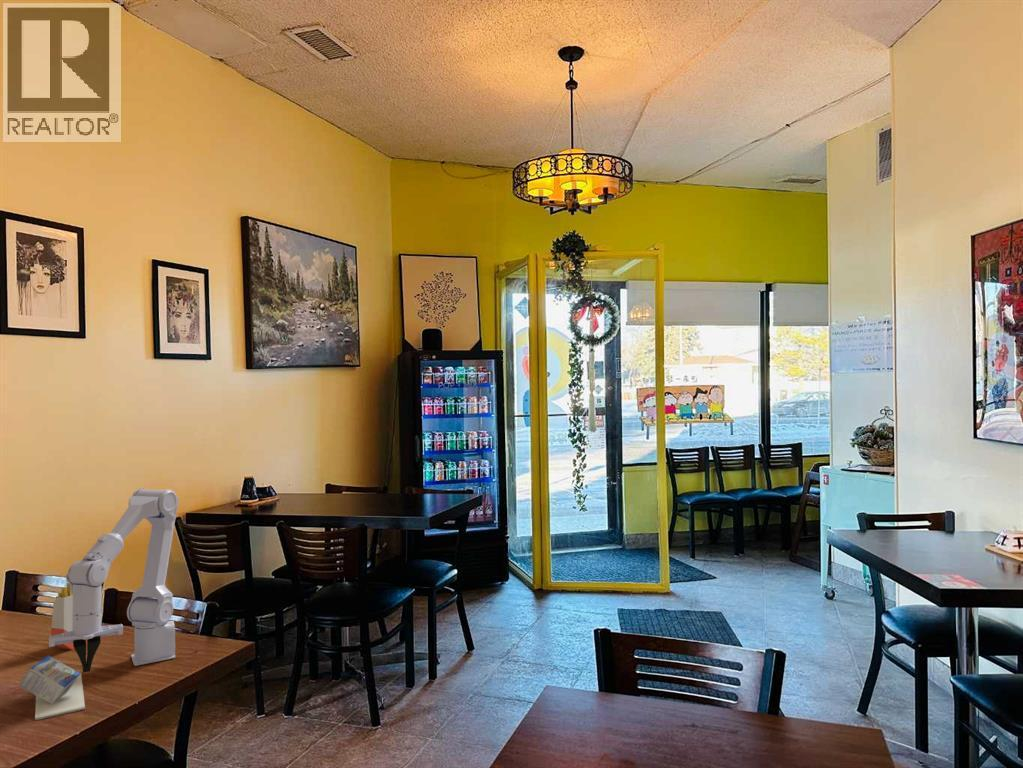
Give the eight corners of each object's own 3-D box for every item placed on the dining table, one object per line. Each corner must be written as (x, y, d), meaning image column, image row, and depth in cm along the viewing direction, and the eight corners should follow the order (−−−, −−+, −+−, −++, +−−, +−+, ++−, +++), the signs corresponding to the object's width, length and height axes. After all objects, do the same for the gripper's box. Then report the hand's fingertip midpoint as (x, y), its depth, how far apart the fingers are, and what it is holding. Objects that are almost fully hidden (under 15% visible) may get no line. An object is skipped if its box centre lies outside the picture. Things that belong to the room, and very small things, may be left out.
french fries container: (50, 651, 181) (50, 584, 181) (84, 637, 192) (85, 573, 192) (63, 653, 180) (64, 585, 180) (97, 638, 191) (98, 575, 191)
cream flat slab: (81, 674, 167) (81, 672, 167) (85, 709, 148) (85, 707, 148) (36, 683, 161) (36, 681, 161) (35, 720, 143) (35, 718, 143)
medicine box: (64, 687, 150) (29, 667, 149) (52, 705, 150) (16, 685, 149) (81, 673, 158) (48, 654, 157) (69, 689, 158) (36, 670, 157)
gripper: (49, 623, 150) (48, 684, 150) (124, 611, 158) (123, 669, 158) (49, 614, 156) (48, 673, 155) (121, 603, 164) (121, 659, 164)
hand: (86, 670), depth 157 cm, fingers closed
